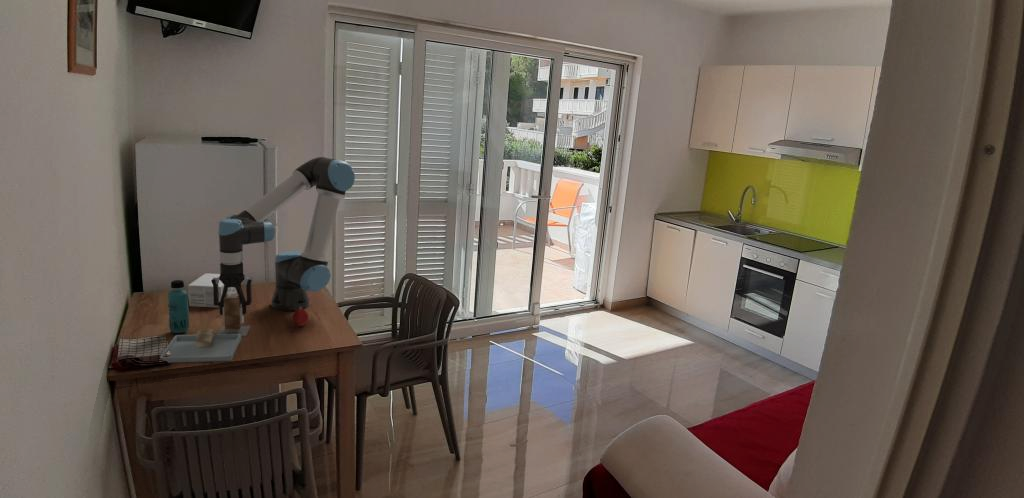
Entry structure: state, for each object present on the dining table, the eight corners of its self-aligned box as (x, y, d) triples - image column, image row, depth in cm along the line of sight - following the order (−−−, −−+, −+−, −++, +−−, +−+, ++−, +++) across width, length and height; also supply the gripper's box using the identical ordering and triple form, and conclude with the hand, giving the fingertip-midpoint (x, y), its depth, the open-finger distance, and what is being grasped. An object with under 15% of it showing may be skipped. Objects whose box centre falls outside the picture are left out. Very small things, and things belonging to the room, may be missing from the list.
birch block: (213, 342, 210) (213, 329, 209) (211, 347, 205) (210, 333, 204) (199, 342, 209) (199, 329, 207) (196, 347, 204) (196, 334, 203)
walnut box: (242, 324, 223) (241, 293, 220) (239, 329, 218) (238, 298, 215) (227, 324, 221) (226, 294, 218) (224, 329, 217) (223, 298, 214)
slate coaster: (250, 327, 226) (250, 325, 226) (246, 337, 217) (246, 335, 217) (221, 327, 224) (221, 326, 223) (216, 338, 214) (216, 336, 214)
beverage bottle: (174, 329, 218) (171, 277, 214) (193, 330, 219) (190, 278, 214) (165, 336, 212) (162, 283, 207) (185, 337, 213) (182, 284, 208)
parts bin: (241, 338, 215) (241, 333, 215) (231, 361, 197) (231, 356, 197) (175, 340, 210) (175, 335, 209) (159, 363, 191) (158, 358, 191)
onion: (293, 329, 227) (293, 310, 225) (291, 324, 232) (291, 305, 230) (309, 328, 230) (309, 308, 228) (307, 323, 235) (307, 304, 233)
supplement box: (205, 293, 258) (204, 272, 256) (236, 295, 260) (236, 274, 257) (188, 306, 242) (187, 284, 240) (221, 308, 243) (220, 286, 241)
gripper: (260, 259, 220) (261, 318, 225) (206, 259, 215) (209, 319, 220) (256, 265, 213) (258, 326, 218) (201, 264, 208) (204, 326, 213)
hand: (233, 322), depth 219 cm, fingers closed on walnut box, 5 cm apart
